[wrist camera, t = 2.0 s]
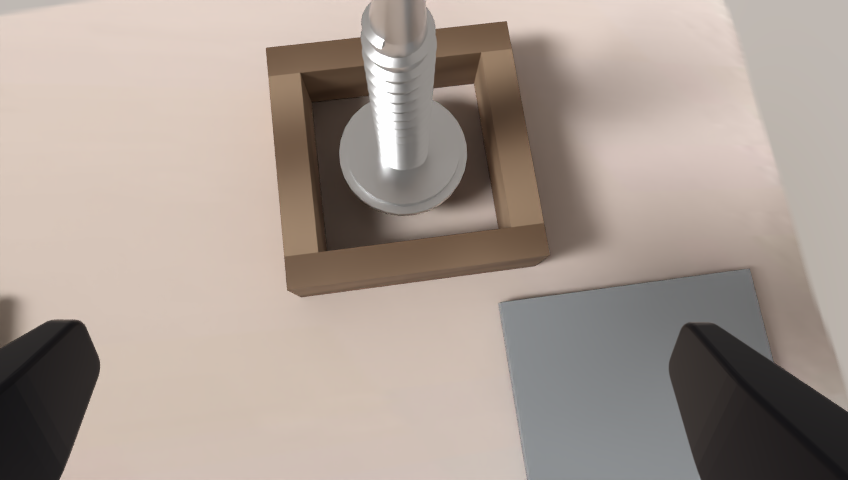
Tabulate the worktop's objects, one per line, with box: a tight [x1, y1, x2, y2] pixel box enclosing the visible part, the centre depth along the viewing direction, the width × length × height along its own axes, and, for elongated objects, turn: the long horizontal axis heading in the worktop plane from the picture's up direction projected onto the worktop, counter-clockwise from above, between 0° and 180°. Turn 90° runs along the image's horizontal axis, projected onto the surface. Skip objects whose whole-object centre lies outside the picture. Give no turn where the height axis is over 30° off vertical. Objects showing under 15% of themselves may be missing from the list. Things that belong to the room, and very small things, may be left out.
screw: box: [339, 0, 467, 216], centre depth 17 cm, size 13×5×5 cm
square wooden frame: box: [266, 21, 550, 297], centre depth 22 cm, size 9×9×2 cm
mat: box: [499, 269, 773, 480], centre depth 21 cm, size 10×10×1 cm
